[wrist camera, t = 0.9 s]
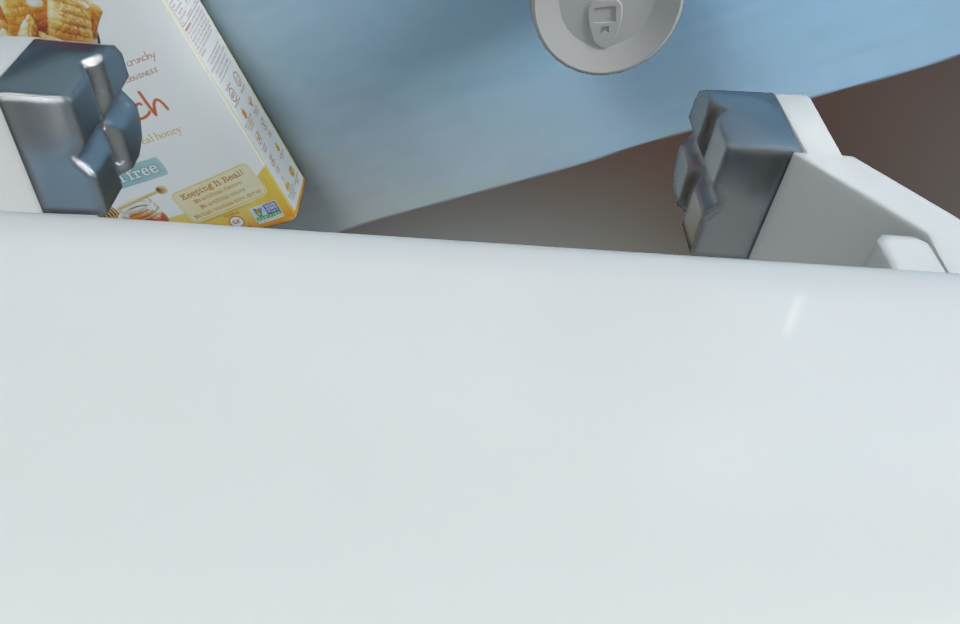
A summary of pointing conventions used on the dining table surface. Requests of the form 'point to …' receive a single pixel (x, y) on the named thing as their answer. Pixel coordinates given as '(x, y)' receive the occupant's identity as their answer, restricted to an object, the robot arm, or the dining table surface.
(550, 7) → the canned food
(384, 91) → the dining table surface
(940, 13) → the dining table surface
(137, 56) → the cereal box
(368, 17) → the dining table surface
